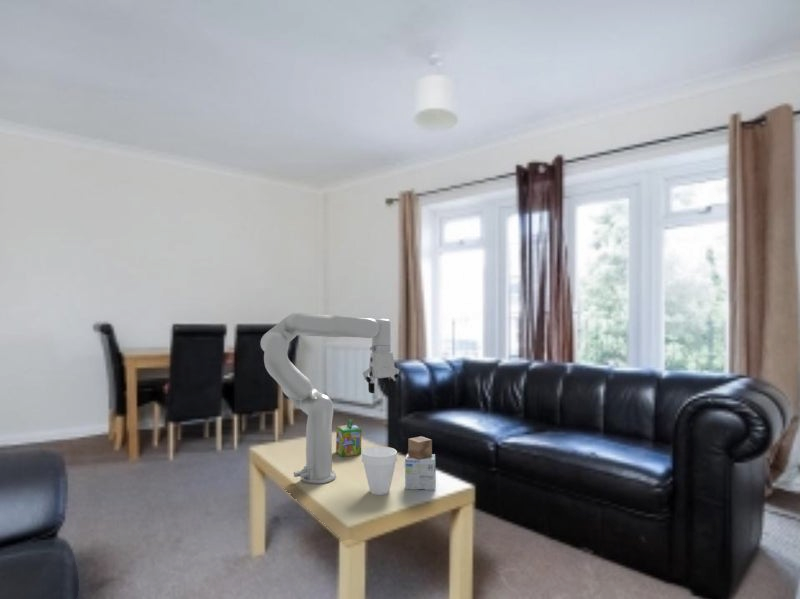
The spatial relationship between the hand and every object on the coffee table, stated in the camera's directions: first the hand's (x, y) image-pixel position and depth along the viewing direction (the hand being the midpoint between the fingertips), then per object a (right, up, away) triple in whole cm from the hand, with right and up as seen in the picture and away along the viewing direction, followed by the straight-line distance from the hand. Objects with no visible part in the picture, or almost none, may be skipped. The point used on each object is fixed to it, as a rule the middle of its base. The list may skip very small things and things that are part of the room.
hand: (381, 391), depth 188 cm
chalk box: (-15, -31, +18) cm, 40 cm away
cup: (0, -30, -27) cm, 40 cm away
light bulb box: (+15, -30, -23) cm, 40 cm away
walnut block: (+15, -19, -22) cm, 33 cm away
